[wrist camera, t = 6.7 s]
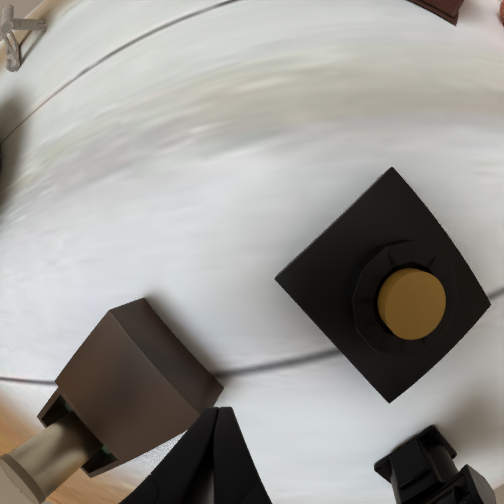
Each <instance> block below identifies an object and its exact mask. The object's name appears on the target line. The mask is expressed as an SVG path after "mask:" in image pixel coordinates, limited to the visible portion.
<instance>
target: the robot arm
mask: <svg viewBox="0 0 504 504" xmlns="http://www.w3.org/2000/svg"><path fill="white" fill-rule="evenodd" d="M432 430H433V431H432ZM431 431H432V432H431ZM456 455H457V453H456V451H455V450H454V449H453V448H452V446H451V445H450V444H449V443H448V441H447V440H446V439H445V438H444V437H443V435H442V434H441V433H440V432H439V430H438V429H437V428H436V427H435V426H430V427H429V428H427V429H426V430H425V431H423V432H422V433H421V434H419V435H418V436H417V437H415V438H414V439H413V440H411V441H410V442H408V443H407V444H405V445H404V446H403V447H401V448H400V449H398V450H397V451H395V452H394V453H392V454H391V455H389V456H388V457H386V458H384V459H383V460H381V461H380V462H378V463H376V464H375V465H374V470H375V471H376V472H377V473H378V474H379V475H381V476H382V477H383V478H384V479H386V480H387V481H388V482H390V483H391V484H392V487H393V491H394V495H395V499H396V504H496V498H495V493H494V491H493V490H492V488H491V486H490V485H489V483H488V482H487V480H486V479H485V478H484V477H483V476H482V475H481V474H479V473H478V472H477V471H475V470H474V469H473V468H472V467H470V466H469V465H468V464H466V465H465V466H464V467H463V468H461V470H460V471H459V472H458V470H457V468H456V466H455V464H454V462H453V460H452V459H454V458H455V457H456ZM119 504H272V502H271V500H270V498H269V496H268V494H267V492H266V490H265V488H264V486H263V483H262V482H261V479H260V477H259V474H258V472H257V470H256V467H255V465H254V462H253V460H252V458H251V455H250V453H249V450H248V448H247V445H246V443H245V440H244V438H243V435H242V432H241V430H240V427H239V425H238V422H237V419H236V417H235V414H234V411H233V409H232V407H220V408H219V407H207V408H205V410H204V411H203V412H202V413H201V415H200V416H199V417H198V418H197V419H196V421H195V422H194V423H193V424H192V426H191V427H190V428H189V429H188V430H187V432H186V433H185V434H184V435H183V436H182V438H181V439H180V440H179V441H178V442H177V443H176V445H175V446H174V447H173V448H172V449H171V450H170V452H169V453H168V454H167V455H166V456H165V457H164V459H163V460H162V461H161V462H160V463H159V464H158V465H157V466H156V468H155V469H154V470H153V471H152V472H151V475H148V476H147V477H146V479H145V480H144V481H143V482H142V483H141V484H140V485H139V486H138V487H137V488H136V489H135V490H134V491H133V492H132V493H131V494H129V495H128V496H127V497H126V498H125V499H124V500H122V501H121V502H120V503H119Z"/></svg>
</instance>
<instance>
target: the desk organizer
mask: <svg viewBox="0 0 504 504" xmlns="http://www.w3.org/2000/svg"><path fill="white" fill-rule="evenodd" d="M410 1H412V2H414V3H416V4H418V5H420V6H422V7H424V8H426V9H428V10H430V11H432V12H434V13H436V14H438V15H440V16H441V17H443V18H445V19H446V20H448V21H450V22H451V23H453V24H454V25H456V24H457V20H458V10H459V8H460V6H461V4H462V3H463V1H464V0H410Z"/></svg>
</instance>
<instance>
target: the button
mask: <svg viewBox="0 0 504 504" xmlns="http://www.w3.org/2000/svg"><path fill="white" fill-rule="evenodd" d="M445 304H446V297H445V292H444V289H443V286H442V284H441V283H440V281H439V280H438V279H437V278H436V277H435V276H433V275H432V274H430V273H427V272H424V271H421V270H417V269H414V268H405V269H401V270H398V271H396V272H394V273H393V274H391V275H390V276H389V277H388V278H387V279H386V280H385V282H384V283H383V285H382V287H381V289H380V292H379V295H378V311H379V314H380V317H381V319H382V320H383V321H384V323H385V324H386V325H387V326H388V327H389V328H390V330H391V331H392V332H393V333H394V334H395V335H397V336H398V337H400V338H403V339H407V340H414V339H419V338H422V337H424V336H426V335H428V334H429V333H430V332H432V331H433V330H434V329H435V328H436V327H437V325H438V324H439V322H440V321H441V319H442V316H443V314H444V311H445Z"/></svg>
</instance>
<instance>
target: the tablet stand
mask: <svg viewBox="0 0 504 504" xmlns="http://www.w3.org/2000/svg"><path fill="white" fill-rule="evenodd" d="M13 15H14V7H13V6H12V5H8V6H6V7H5V8H4V9H3V10H2V15H1V23H0V34H1V35H2V37H3V39H4V41H5V43H6V44H7V46H6V54H7V55H8V56H9V59H6V69H7V70H9V71H10V72H15V71H17V70H18V68H19V66H20V60H19V52H18V47H19V46H18V42H17V40H16V38H15V36H14V34H13V32H12V30H36V31H45V30H46V27H42V26H38V24H44V20H35V19H14V18H13ZM8 33H9V34H10V36H11V38H12V39H13V41H14V44H13V45H11V43H10V41H9V39H8V38H7V36H6V35H7V34H8Z"/></svg>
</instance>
